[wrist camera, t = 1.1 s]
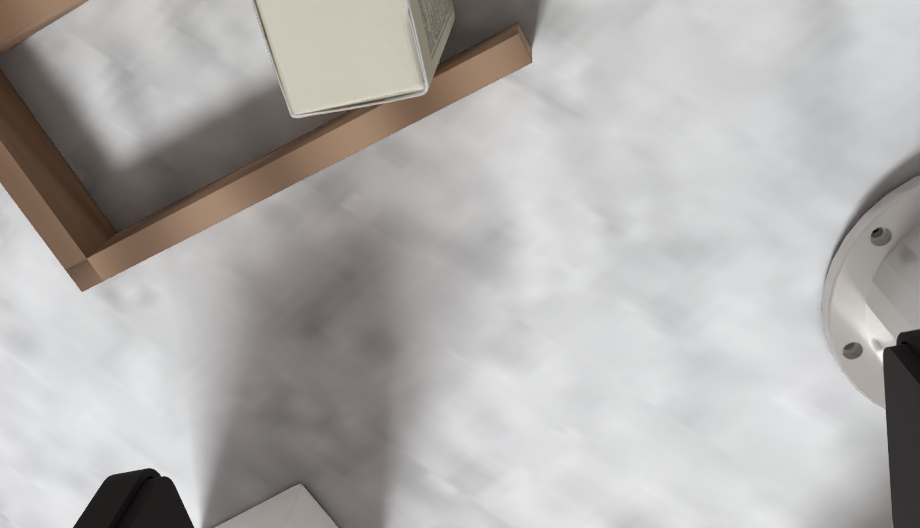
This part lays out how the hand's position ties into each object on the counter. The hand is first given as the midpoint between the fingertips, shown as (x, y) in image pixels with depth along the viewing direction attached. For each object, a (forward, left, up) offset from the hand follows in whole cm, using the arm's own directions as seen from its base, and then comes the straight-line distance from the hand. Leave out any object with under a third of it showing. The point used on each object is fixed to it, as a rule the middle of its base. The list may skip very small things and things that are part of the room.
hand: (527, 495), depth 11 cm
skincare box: (+3, -7, -28) cm, 28 cm away
